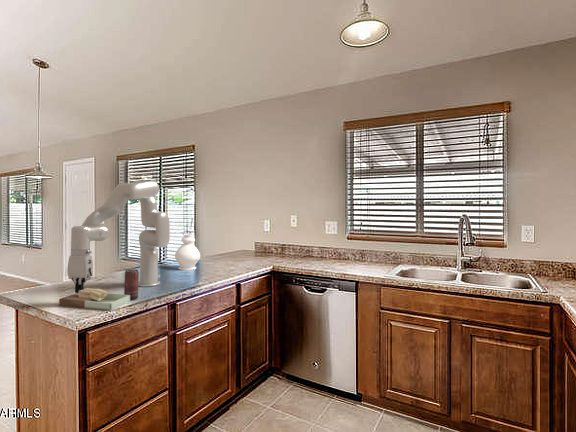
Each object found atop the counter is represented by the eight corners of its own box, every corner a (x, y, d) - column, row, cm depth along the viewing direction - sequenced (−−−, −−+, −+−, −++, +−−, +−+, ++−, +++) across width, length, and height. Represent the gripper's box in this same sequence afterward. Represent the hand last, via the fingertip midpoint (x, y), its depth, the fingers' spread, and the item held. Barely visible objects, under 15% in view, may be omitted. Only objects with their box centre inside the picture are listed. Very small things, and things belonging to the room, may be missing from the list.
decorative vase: (186, 271, 232) (187, 235, 232) (169, 268, 242) (170, 233, 241) (205, 268, 248) (206, 234, 247) (188, 265, 257) (189, 232, 256)
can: (131, 301, 159) (132, 272, 159) (121, 299, 162) (122, 270, 161) (141, 298, 165) (141, 270, 165) (131, 296, 167) (132, 268, 167)
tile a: (86, 294, 157) (86, 288, 157) (96, 295, 156) (96, 289, 156) (78, 297, 152) (78, 290, 152) (88, 298, 151) (88, 291, 151)
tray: (106, 299, 161) (106, 293, 161) (130, 301, 159) (130, 295, 159) (84, 308, 147) (84, 301, 147) (110, 310, 145) (111, 303, 145)
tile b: (96, 294, 157) (98, 288, 156) (106, 297, 156) (107, 291, 156) (88, 297, 152) (90, 291, 151) (98, 300, 151) (100, 294, 151)
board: (82, 297, 162) (82, 291, 162) (105, 299, 161) (105, 293, 161) (59, 305, 149) (59, 299, 148) (83, 307, 147) (83, 301, 147)
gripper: (100, 252, 157) (99, 291, 157) (72, 250, 159) (71, 289, 159) (89, 254, 149) (87, 295, 150) (59, 252, 152) (58, 293, 152)
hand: (79, 292), depth 155 cm, fingers closed
